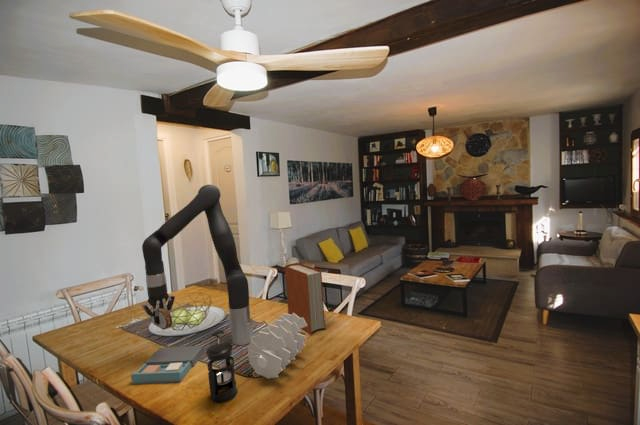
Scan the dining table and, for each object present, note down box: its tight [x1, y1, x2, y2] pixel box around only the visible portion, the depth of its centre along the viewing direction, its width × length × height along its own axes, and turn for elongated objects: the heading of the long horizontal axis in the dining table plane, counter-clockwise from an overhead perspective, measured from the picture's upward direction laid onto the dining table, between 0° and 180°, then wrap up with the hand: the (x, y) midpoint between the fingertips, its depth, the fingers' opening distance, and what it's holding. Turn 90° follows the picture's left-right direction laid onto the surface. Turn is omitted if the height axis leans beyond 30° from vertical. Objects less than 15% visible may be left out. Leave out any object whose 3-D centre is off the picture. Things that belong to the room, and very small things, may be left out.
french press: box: [205, 330, 238, 404], centre depth 117 cm, size 12×9×23 cm
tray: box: [130, 362, 193, 385], centre depth 133 cm, size 19×10×4 cm, turn 88°
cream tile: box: [165, 362, 183, 372], centre depth 133 cm, size 5×5×2 cm
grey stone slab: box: [144, 345, 205, 368], centre depth 144 cm, size 20×12×3 cm, turn 88°
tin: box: [149, 307, 173, 330], centre depth 143 cm, size 15×3×8 cm, turn 52°
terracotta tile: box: [141, 365, 161, 373], centre depth 133 cm, size 5×5×2 cm
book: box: [284, 262, 326, 336], centre depth 169 cm, size 23×8×30 cm, turn 34°
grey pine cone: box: [246, 312, 308, 380], centre depth 134 cm, size 18×18×25 cm
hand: (161, 322), depth 143 cm, fingers closed on tin, 2 cm apart
